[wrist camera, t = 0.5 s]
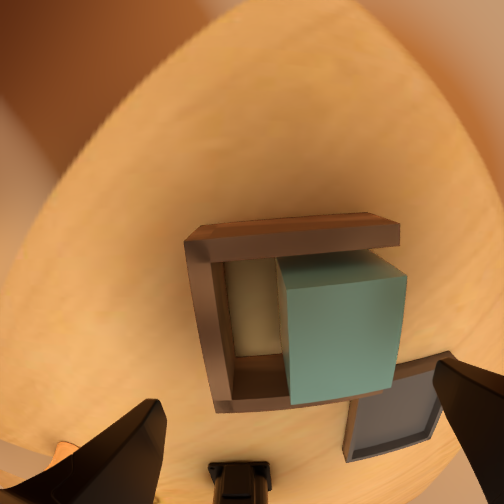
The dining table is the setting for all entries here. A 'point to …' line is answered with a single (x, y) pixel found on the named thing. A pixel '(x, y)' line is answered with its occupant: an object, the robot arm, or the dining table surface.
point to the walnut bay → (216, 303)
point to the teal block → (339, 323)
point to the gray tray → (395, 412)
